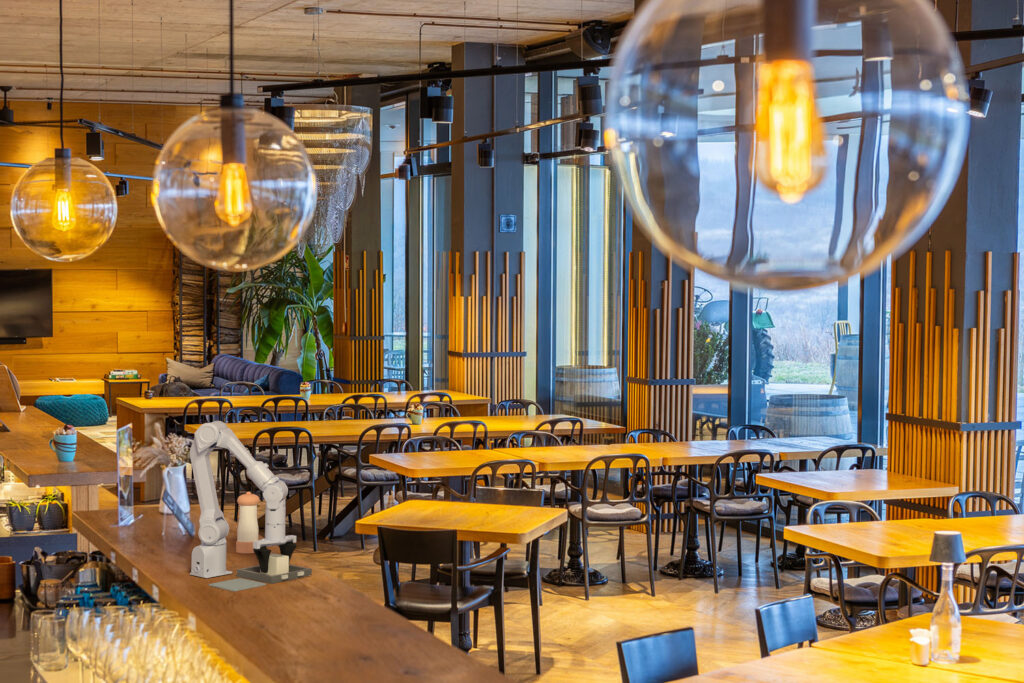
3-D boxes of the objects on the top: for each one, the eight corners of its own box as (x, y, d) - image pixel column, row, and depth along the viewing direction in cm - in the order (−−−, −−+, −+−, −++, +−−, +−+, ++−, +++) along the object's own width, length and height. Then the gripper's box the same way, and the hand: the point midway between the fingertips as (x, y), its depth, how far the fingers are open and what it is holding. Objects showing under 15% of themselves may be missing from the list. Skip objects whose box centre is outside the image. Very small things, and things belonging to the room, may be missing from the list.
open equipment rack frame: (272, 584, 318) (273, 577, 318) (236, 576, 328) (236, 569, 328) (313, 575, 330) (313, 569, 330) (277, 568, 340) (277, 561, 340)
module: (276, 579, 325) (276, 557, 325) (260, 575, 329) (260, 554, 329) (288, 576, 329) (288, 555, 329) (272, 573, 333) (272, 552, 333)
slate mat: (234, 591, 308) (234, 590, 308) (208, 585, 315) (208, 584, 315) (265, 585, 317) (265, 583, 317) (240, 579, 324) (240, 577, 324)
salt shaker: (256, 553, 362) (257, 493, 362) (233, 553, 362) (234, 493, 362) (261, 549, 369) (262, 490, 369) (239, 549, 369) (240, 490, 369)
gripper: (264, 528, 321) (264, 576, 321) (303, 522, 332) (302, 568, 332) (248, 525, 325) (247, 572, 325) (287, 519, 337) (286, 565, 337)
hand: (274, 570), depth 329 cm, fingers open, 7 cm apart
